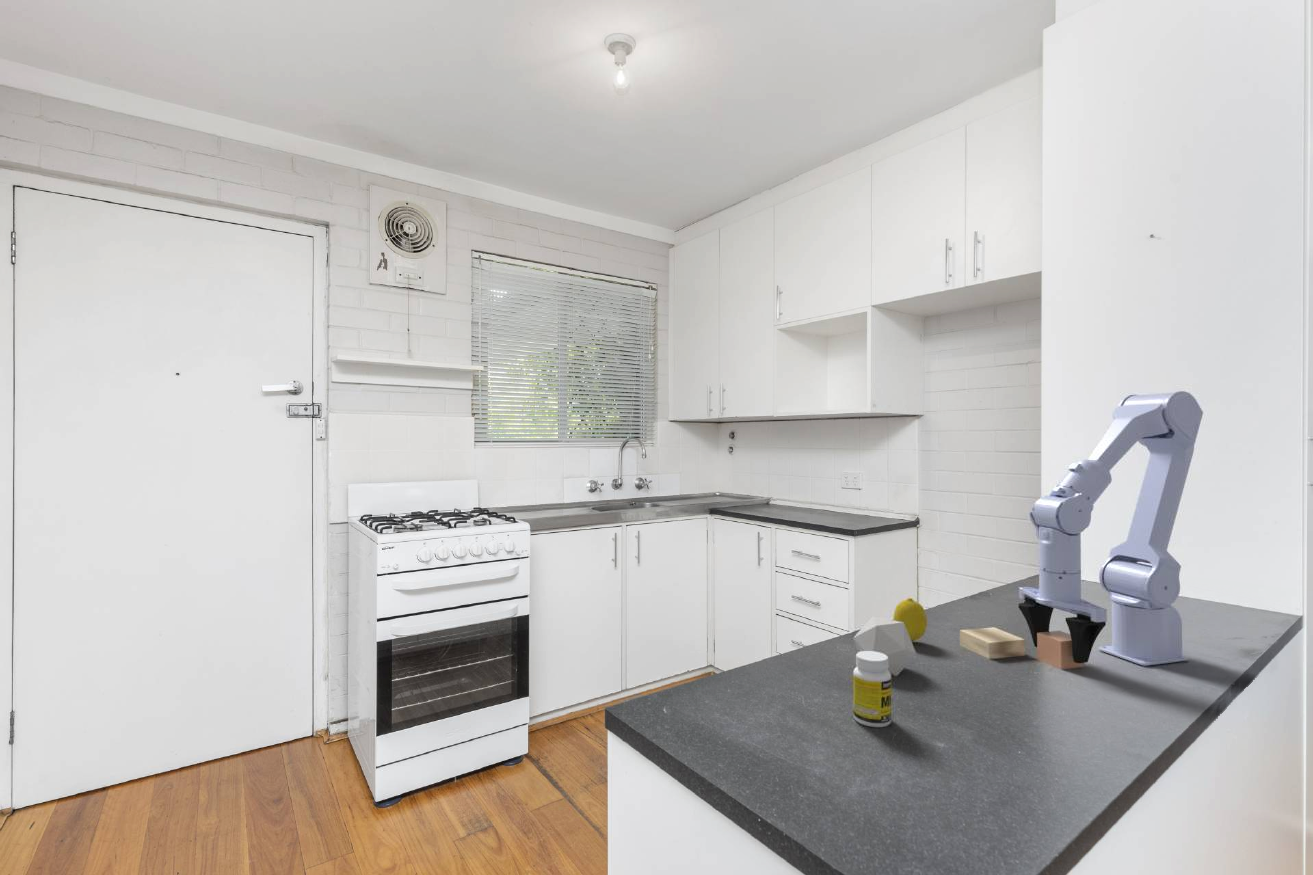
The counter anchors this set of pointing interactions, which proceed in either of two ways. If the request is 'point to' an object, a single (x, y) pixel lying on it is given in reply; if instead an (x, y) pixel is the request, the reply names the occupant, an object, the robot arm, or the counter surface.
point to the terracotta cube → (1056, 650)
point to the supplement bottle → (872, 689)
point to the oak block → (992, 643)
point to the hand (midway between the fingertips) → (1060, 654)
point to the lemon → (911, 618)
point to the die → (887, 642)
